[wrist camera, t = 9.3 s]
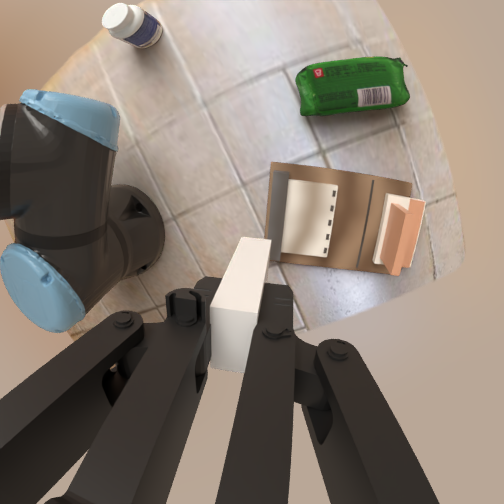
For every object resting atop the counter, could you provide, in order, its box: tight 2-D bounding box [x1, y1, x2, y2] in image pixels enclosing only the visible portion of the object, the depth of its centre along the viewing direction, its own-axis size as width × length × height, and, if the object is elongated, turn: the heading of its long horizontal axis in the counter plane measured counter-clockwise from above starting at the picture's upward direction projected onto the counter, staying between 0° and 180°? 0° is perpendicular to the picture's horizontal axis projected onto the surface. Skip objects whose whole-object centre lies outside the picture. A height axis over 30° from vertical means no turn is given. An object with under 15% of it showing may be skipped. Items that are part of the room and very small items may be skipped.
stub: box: [372, 193, 426, 276], centre depth 35 cm, size 6×10×7 cm, turn 176°
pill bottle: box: [102, 3, 162, 48], centre depth 28 cm, size 5×5×10 cm
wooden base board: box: [264, 162, 412, 274], centre depth 39 cm, size 20×14×3 cm
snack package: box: [296, 57, 410, 116], centre depth 31 cm, size 7×16×5 cm, turn 104°
